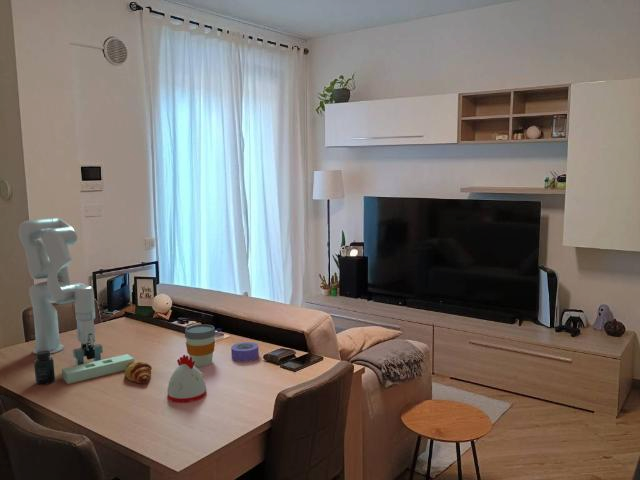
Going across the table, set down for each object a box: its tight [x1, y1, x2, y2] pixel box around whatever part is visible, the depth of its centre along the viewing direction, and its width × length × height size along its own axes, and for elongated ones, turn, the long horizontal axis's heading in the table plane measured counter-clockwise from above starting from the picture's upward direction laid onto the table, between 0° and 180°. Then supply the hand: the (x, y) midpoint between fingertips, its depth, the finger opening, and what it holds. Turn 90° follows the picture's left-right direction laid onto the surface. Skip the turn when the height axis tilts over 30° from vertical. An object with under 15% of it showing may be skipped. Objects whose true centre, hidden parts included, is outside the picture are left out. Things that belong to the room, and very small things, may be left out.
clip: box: [72, 343, 104, 366], centre depth 232 cm, size 3×11×7 cm, turn 129°
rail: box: [61, 353, 135, 385], centre depth 222 cm, size 7×26×4 cm, turn 129°
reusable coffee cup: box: [184, 324, 216, 368], centre depth 232 cm, size 13×13×15 cm
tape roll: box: [230, 341, 260, 363], centre depth 239 cm, size 12×12×5 cm
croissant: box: [124, 361, 153, 384], centre depth 217 cm, size 21×10×8 cm, turn 34°
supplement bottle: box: [33, 350, 56, 386], centre depth 213 cm, size 7×7×12 cm
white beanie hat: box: [167, 354, 208, 404], centre depth 200 cm, size 14×14×15 cm
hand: (88, 356), depth 233 cm, fingers open, 6 cm apart
